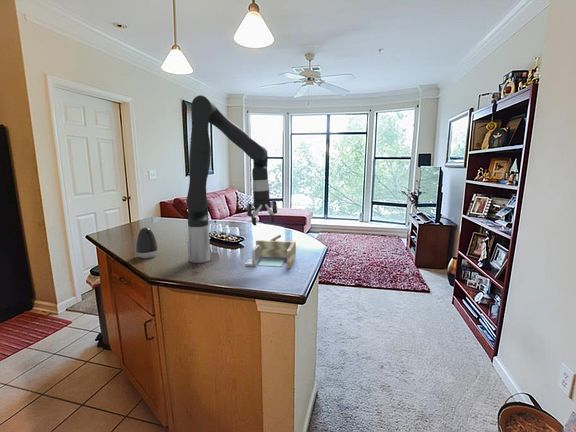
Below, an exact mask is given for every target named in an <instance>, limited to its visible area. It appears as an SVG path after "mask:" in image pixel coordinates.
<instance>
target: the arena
mask: <svg viewBox="0 0 576 432" xmlns="http://www.w3.org/2000/svg"><path fill="white" fill-rule="evenodd" d="M256 245H260V258H261V257H263V258H264V257H265V258H281V259H282V258H283V259H284V258H285V259H286V269H291V268H292V266H293V264H294V262H295V260H296V258H297V254H296V253H297V248H296V246H297V241H287V240H286V241H285V240H276V241H269V240H266V239H265V240H263V239H262V240H259V239H256V240H255V246H256Z"/></svg>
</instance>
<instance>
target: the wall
mask: <svg viewBox="0 0 576 432" xmlns="http://www.w3.org/2000/svg"><path fill="white" fill-rule="evenodd" d="M281 237H282V235H281V234H279V235H277V236H274V237H273V238H271V239H269V240H268V241H277V240H278V239H280V238H281Z"/></svg>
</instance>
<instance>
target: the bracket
mask: <svg viewBox="0 0 576 432" xmlns="http://www.w3.org/2000/svg"><path fill="white" fill-rule="evenodd" d="M251 257H252V258H249V259H248V260H247V261H245V263H244V267H250V268H251V267H253V268H256V267H257V265H258V264H259V263H260V262H261V257H260V245H256V244H255V246H254V247H253V248H252V249H251Z"/></svg>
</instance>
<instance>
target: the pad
mask: <svg viewBox="0 0 576 432" xmlns="http://www.w3.org/2000/svg"><path fill="white" fill-rule="evenodd" d="M284 263H285V260H284V259H265V258H263V259H260V262H259V263H258V264H257V266H259V267H277V268H282V266H283V265H284ZM257 266H256V267H257Z"/></svg>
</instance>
